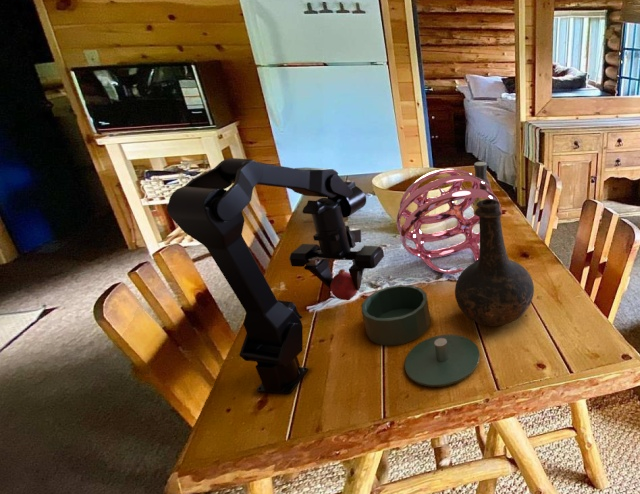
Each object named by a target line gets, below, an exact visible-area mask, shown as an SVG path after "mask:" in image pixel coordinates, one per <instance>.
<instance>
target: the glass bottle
mask: <svg viewBox="0 0 640 494" xmlns="http://www.w3.org/2000/svg"><path fill="white" fill-rule="evenodd" d="M499 201H500V200H499ZM499 201H497V200H494V199H485V200H481V201H479V202H478V208H477V209H476V210H475V215H477V216H479V222H478V224H479V232H480V242H479V248H480V253H479V259H478V260H476V261H475V260H474V263H472V264H470V265H468V266H467V267H466V268H464V269H463V271H461V272H460V274H459V276H458V278H457V279H456V283H455V287H454V296H455V301H456V304H457V306H458V307H459V309H460V310H461V312H462V313H463V314H464V315H465V316H466V317H467V318H468V319H470V320H471V321H473V322H475V323H477V324H480V325H483V326H489V327H496V326H497V327H498V326H503V325H504V326H505V325H507V324H510V323H512V322H514V321H516V320H518V319H519V318H521V317H522V316H523V315H524V314H525V312H527V310H528V309H529V307H530V305H531V303H532V302H533V298H534V295H535V293H534V292H535V285H534V281H533V278H532V276H531V274H530V273H529V271H528V270H527V269H526V268H525V267H524V266H523V265H521V264H520V263H519V262H517V261H514V260H512V259H510V258H509V257H508V253H507V249H506V245H505V240H504V235H503V227H502V220H501V219H500V216H501V217H502V215H503V213H502V214H501V212H500V204H501V202H500V203H499Z"/></svg>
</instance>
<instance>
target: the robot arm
mask: <svg viewBox="0 0 640 494" xmlns="http://www.w3.org/2000/svg"><path fill="white" fill-rule="evenodd" d="M257 185H258V186H267V187H275V188H285V189H289V190H292V191H293V193H296V194H300V195H302V196H304V197H305V196H306V197H318V199H316V200H312V199H311V200H310V199H309V200H307V203H306V205H304V207H303V209H302V212H301V213H302V214H304V215H306V214H307V215H311V219H312V221H313V225H314V229H315V234H314V235H313V236H312V237H313V241H315V242H316V241H318V244H316V243H314V244H313V243H301V245H299V246H298V247H296V248H295V249H294V250H292V252H291V253H290V254H289V258H288V259H289V263H290V266H291V267H303V269H304V270H305V271H309V272H310V273H311V274H312V275H314V276H315V277H316V278H317V279H319V281H321V282H322V284H324V285H325V286H326V287H327V288H328V289H329V290H331V287H330V285H331V281H332V279H333V275H332V272H331V268H330V261H351V262H352V265H351V266H350V267H349V268H348V273H350V275H351V278H352V281H353V284H354V287H355V288H356V290H358V291H359V290H360V289H361V284H362V279H363V275H364V271H365V269H366V270H367V269H368V270H369V269H370V270H372V269H375V268H376V267H377V266H378V265H379V263H380V262H381V261H382V260H383V259H384V257H385V252H384V249H383V248H382V247H381V246H379V245H363V246H362V248H361V249H360V250H358V251H357V250H351V249H354V248H355V247H356V244H357V243H362V229H361V228H351V227H350V226H349V225H346V224H345V220H344V218H349V217H350V216H351V215H353V214H355V213H357V212H358V211H359V210H361V209H363V208H364V206H366V204H367V195H366V194H365V193H364V191H363V190H362V189H361V188H360V187H359V186H356V182H355V181H354V180H346V181H344V180H343V179H342V178H341V177H340V176H339V171H337V170H336V169H334V168H322V167H321V168H319V167H295V168H293V167H288V166H282V165H276V164H272V163H271V164H270V163H266V162H260V161H255V160H254V159H251V158H235V157H228V158H226V159H223V160H222V161H220V162H219V163H218V164H217V165H216V166H214V168H212V169H210V170H208V171H205V172H203V173H202V174H200V175H198V176H196V177H194V178H192V179H191V180H189V182H187V183H186V184H185V185H183V186H181V187H179V188H176V190H174V191H173V192H172V193H171V195H170V197H169V199H168V203H167V204H166V211H167V213H168V215H169V217H170V218H171V219H172V221H173V222H174V223H175V224H176V225H177V227H179V228H180V229H181V230H182V232H184V233H185V234H186V235H188V236H189V237H190V238H192V239H194V240H195V241H197V242H198V243H199V244H201V245H202V246H204V247H205V248H206V249H207V251H208V253H209V254H210V257H212V259H213V261H214V262H215V264H216V266H217V267H218V269H219V270H220V272H221V274H222V275H223V277H224V279H225V280H226V282H227V284H228V285H229V287H230V289H231V290H232V292H233V293H234V295H235V296H236V298H237V299H238V301H239V303H240V305H241V307H242V308H243V309H244V311H245V316H244V319H243V327H244V330H245V332H246V334H245V337H244V340H243V343H242V345H241V349H240V351H239V357H240V358H241V359H243V360H244V361H245V362H254V363H255V362H256V365H255V370H256V372H257V375H258V377H259V380H260V382H261V383H260V384H259V386H258V387H257V388H256V392H257V393H261V394H281V395H289V394H291V393H292V392H293V391H294V390H295V388H296V387H297V386H298V385H299V384H300V382H301V380H302V379H304V376H305V375H306V374H307V373H308V371H309V369H308V367H306V366H301V365H300V361H299V358H298V356H299V355H300V354H301V353H302V352H303V350H304V349H303V343H304V342H303V340H304V339H303V337H304V336H303V329H304V327H303V326H304V325H303V322H302V320H301V319H303V315H301V314H300V313H299V311H298V308H297V305H296V304H295V303H294V301H289V300H288V301H287V300H281V299H277V297H276V295H275V294H274V292H273V290H272V287H271V286H270V284H269V283H268V280H267V278H266V277H265V275H264V273H263V272H262V270H261V267H260V266H259V265H258V263H257V260H256V259H255V257H254V255H253V253H252V251H251V250H250V247H249V246H248V244H247V242H246V241H245V239H244V237H243V230H244V225H245V217H244V214H243V210H244V209H245V208H246V207H247V206H248V205H249V204H250V203H251V201H252V198H253V192H254V188H255V187H256V186H257ZM227 188H228V189H227Z"/></svg>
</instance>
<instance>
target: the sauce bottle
mask: <svg viewBox="0 0 640 494" xmlns="http://www.w3.org/2000/svg"><path fill="white" fill-rule="evenodd" d="M487 165H488V163H487V162H485V161H476V162H474V164H473V168H474V176H475V177H477V178H480V179H482V180H483V181H485V182H486V183H487V184H488V185H489V186H490V187H491V188H492V186H491V184H492V183H491V181H490V180H489V178H488V173H487V168H488V166H487ZM479 184H480V183H479ZM480 189H482V190H486V191H487V189H486V187H485V186H484V185H482V184H480ZM485 199H486V198H478V197H477V198H476V200H475V201H474V202H473V203H472V207H473V210H472V211H473V216H474V215H475V210H476V209H477V208H478V202H479V201H481V200H485Z"/></svg>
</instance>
